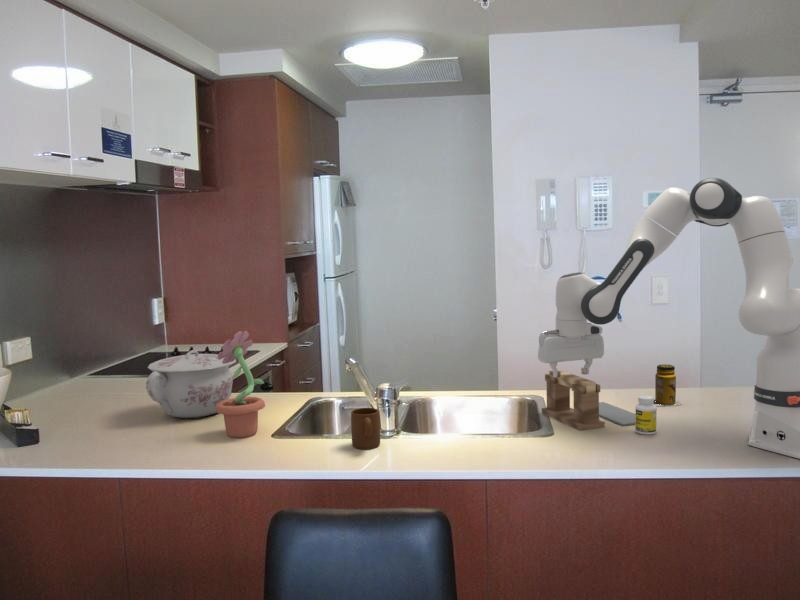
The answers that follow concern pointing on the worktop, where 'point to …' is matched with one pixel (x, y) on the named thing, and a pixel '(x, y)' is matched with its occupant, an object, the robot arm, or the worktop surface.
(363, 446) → the mug
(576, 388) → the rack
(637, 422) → the supplement bottle
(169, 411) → the chamber pot
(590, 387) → the rail
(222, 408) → the decorative flower
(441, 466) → the worktop surface
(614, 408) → the mat
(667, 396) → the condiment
